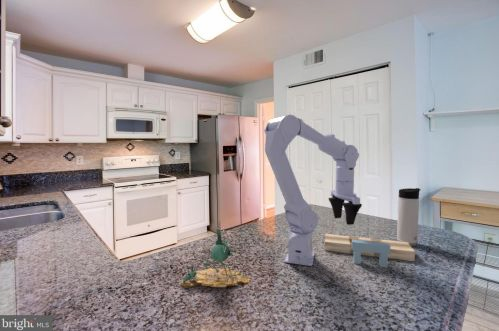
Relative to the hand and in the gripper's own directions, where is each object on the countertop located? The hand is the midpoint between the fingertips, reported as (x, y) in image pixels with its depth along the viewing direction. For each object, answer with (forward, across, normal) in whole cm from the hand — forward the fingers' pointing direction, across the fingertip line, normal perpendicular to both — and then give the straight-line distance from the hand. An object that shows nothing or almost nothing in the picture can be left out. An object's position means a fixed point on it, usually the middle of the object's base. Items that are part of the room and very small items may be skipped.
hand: (343, 221), depth 85 cm
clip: (+10, -12, -2) cm, 15 cm away
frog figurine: (+10, -13, +43) cm, 46 cm away
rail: (+10, -3, -7) cm, 12 cm away
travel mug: (+10, 0, -26) cm, 27 cm away
